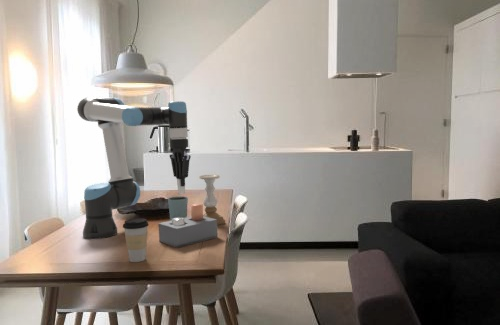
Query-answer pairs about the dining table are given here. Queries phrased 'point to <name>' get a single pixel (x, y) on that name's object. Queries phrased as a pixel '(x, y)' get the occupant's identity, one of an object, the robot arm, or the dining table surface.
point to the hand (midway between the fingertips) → (181, 193)
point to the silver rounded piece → (178, 221)
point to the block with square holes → (187, 232)
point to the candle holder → (211, 199)
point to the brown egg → (196, 212)
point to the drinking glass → (177, 207)
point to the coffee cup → (136, 238)
